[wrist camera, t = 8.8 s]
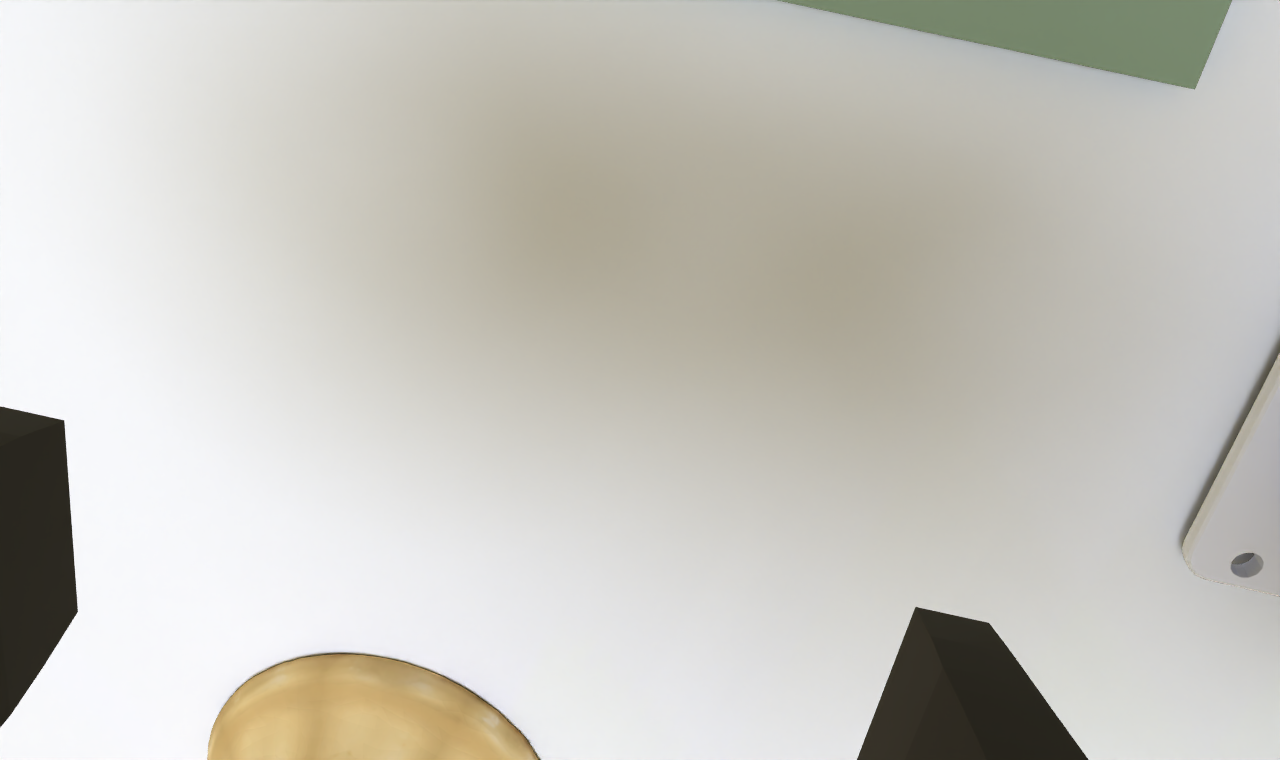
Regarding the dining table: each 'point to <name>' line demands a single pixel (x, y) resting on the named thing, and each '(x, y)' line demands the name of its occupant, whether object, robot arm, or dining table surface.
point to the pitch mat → (1067, 29)
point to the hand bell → (360, 715)
